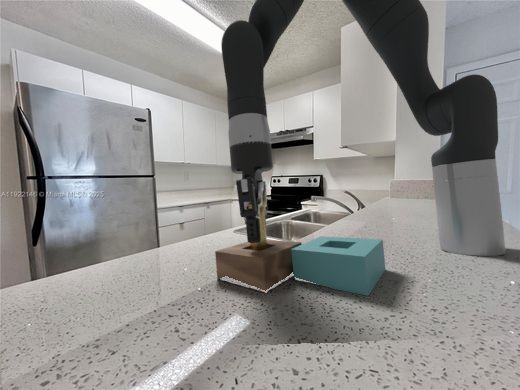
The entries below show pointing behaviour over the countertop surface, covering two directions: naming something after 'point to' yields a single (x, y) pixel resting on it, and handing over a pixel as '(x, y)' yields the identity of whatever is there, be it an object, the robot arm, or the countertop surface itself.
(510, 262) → the countertop surface
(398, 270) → the countertop surface
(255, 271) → the block
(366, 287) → the socket block
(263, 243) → the brass pin
